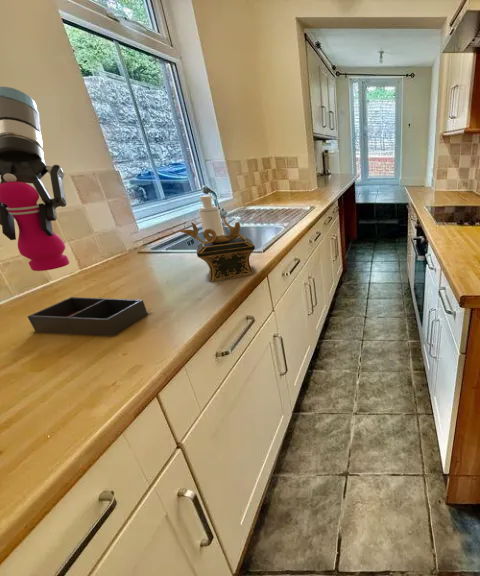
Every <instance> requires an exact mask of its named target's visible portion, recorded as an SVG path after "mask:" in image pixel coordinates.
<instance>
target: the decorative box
mask: <svg viewBox="0 0 480 576" xmlns="http://www.w3.org/2000/svg"><path fill="white" fill-rule="evenodd" d="M221 217H222V220H223V224H224V225H225V226H227V227H228V229H229V234H228V235H226V234H224V235H220V236H217V235H216V232H215V231H214V230H212V229H206V230H205V231H204V232H203V234H202V235H203V238H204V239H206V240H207V241H206V240H205V241H204V240H203V239H201V238H200V237H199V236H198V235H199V228H198V227H197V225H196V224H195V223H194V222H193V221H191V222H190V223H191V227H192V229H180V230H179V233H183V234H186V235H188V236H190V238H194V239H195V240H197V241H199V242H201V243H200V244H198V245H197V246H196V256H197V257H198V258H199V259H201V260H202V261H204V262H205V263H206V264H207V265H208V268H209V270H208V278H209V282H217V281H223V280H229V279H230V280H231V279H235V278H240V277H248V276H252V275H254V274H255V271H254V270H253V268H252V266H251V264H250V256H251V255H252V254H253V252H254V251H255V249H256V245H255V243H254V242H253V241H252V240H251V239H250V238H247V237H246V236H243V235H242V234H241V233H240V230H241V223H240V222H239V221H237V222H234V226H231V225H230V224H229V223H228V222H227V221H226V218H227V217H226V215H225V214H224V213H223V214H222V215H221ZM209 233H211V234H212V236H209Z"/></svg>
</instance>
